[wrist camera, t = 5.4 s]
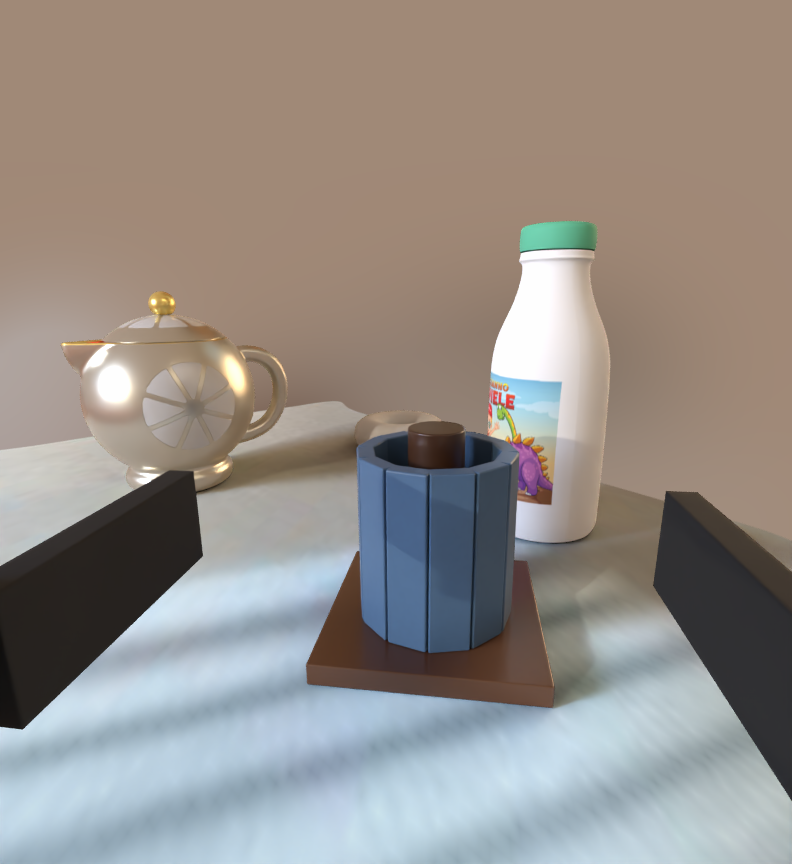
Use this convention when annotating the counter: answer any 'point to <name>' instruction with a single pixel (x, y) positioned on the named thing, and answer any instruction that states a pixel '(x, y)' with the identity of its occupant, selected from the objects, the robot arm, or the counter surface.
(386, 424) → the donut
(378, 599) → the ring sleeve
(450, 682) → the post stand
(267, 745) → the counter surface
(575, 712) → the counter surface
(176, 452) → the teapot
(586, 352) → the milk bottle
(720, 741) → the counter surface
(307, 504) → the counter surface
